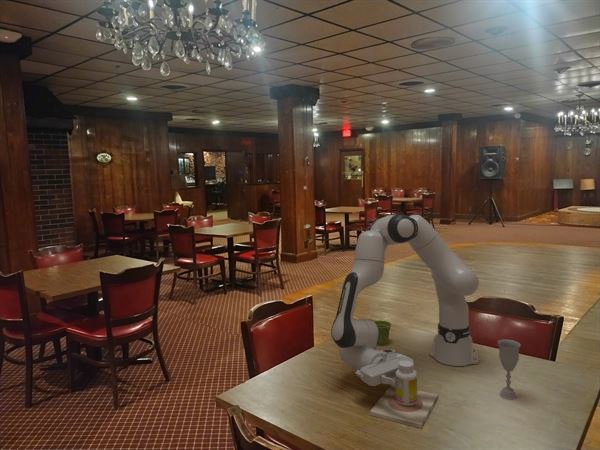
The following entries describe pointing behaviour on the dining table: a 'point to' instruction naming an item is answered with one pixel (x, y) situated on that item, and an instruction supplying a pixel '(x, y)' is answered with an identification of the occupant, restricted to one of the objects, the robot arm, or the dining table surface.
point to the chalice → (508, 363)
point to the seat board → (404, 408)
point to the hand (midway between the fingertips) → (405, 378)
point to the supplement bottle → (406, 384)
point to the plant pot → (383, 331)
